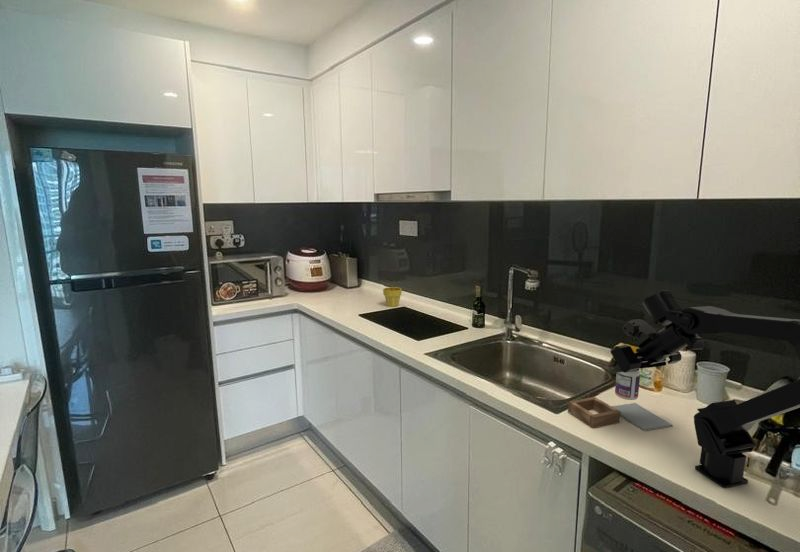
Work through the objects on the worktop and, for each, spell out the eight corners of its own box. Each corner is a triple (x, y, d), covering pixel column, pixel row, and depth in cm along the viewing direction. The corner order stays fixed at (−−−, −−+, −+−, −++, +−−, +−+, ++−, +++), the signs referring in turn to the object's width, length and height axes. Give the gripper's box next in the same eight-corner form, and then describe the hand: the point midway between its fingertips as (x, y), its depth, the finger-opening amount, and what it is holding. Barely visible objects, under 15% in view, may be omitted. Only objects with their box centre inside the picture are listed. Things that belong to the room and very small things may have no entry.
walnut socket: (619, 422, 105) (620, 411, 105) (592, 428, 102) (593, 417, 102) (593, 406, 114) (594, 396, 113) (567, 411, 111) (568, 401, 110)
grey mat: (672, 426, 103) (672, 424, 103) (643, 431, 101) (644, 429, 101) (635, 404, 115) (635, 402, 115) (608, 408, 113) (608, 406, 113)
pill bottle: (629, 391, 110) (632, 357, 108) (642, 400, 104) (646, 364, 103) (610, 391, 109) (613, 357, 108) (622, 401, 104) (625, 365, 102)
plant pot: (385, 308, 223) (385, 291, 221) (381, 304, 233) (381, 287, 231) (403, 307, 225) (403, 290, 224) (399, 303, 235) (399, 286, 234)
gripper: (674, 308, 103) (632, 338, 115) (620, 315, 96) (581, 345, 108) (703, 347, 97) (655, 374, 108) (647, 357, 90) (603, 385, 102)
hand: (623, 368), depth 107 cm, fingers closed on pill bottle, 5 cm apart
